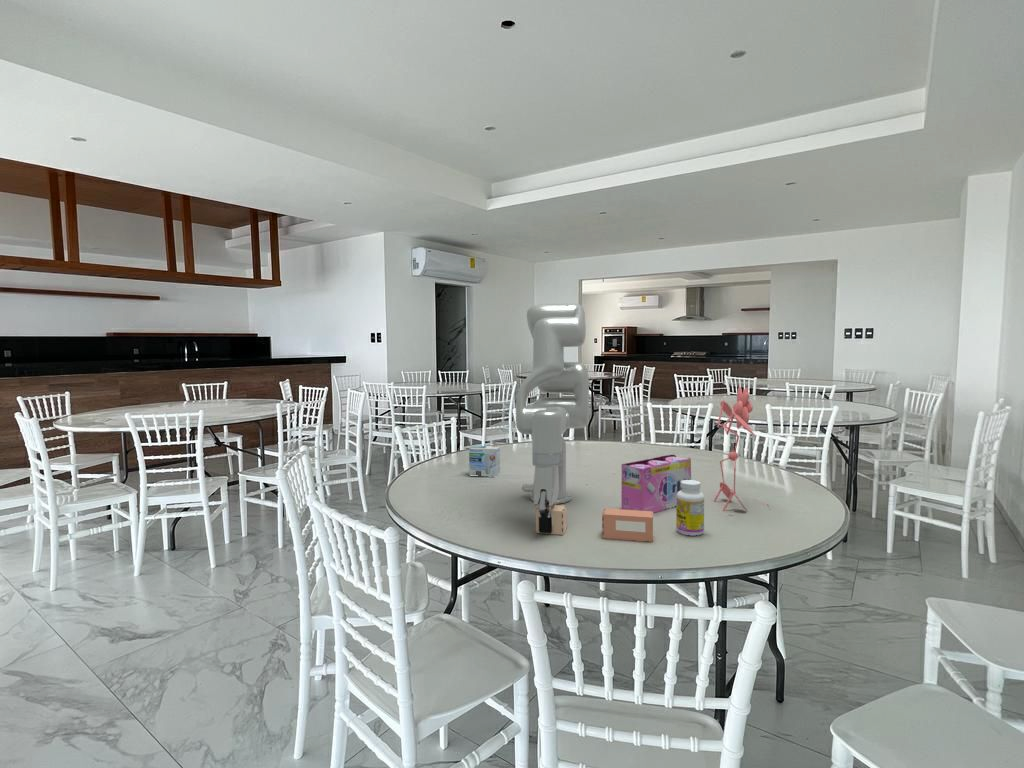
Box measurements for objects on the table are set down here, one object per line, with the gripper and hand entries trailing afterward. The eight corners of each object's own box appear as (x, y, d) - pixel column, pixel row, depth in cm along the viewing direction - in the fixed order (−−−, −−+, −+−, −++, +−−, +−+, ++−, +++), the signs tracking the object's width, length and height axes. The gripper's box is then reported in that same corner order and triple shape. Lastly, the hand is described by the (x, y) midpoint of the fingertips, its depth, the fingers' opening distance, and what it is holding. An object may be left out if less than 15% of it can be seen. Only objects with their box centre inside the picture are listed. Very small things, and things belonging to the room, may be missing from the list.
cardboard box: (602, 538, 132) (602, 513, 132) (604, 531, 137) (604, 507, 137) (652, 542, 129) (652, 517, 129) (652, 535, 134) (653, 511, 134)
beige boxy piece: (536, 532, 137) (535, 509, 136) (540, 526, 142) (540, 503, 141) (563, 535, 135) (563, 511, 134) (566, 528, 140) (566, 505, 139)
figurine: (729, 519, 146) (734, 389, 143) (703, 494, 171) (707, 384, 169) (788, 521, 144) (794, 390, 142) (753, 495, 170) (757, 384, 168)
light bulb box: (468, 477, 198) (468, 448, 198) (473, 473, 205) (472, 444, 204) (497, 478, 196) (497, 448, 196) (500, 473, 203) (500, 445, 202)
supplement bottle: (672, 528, 139) (672, 479, 138) (697, 527, 140) (697, 478, 139) (682, 537, 132) (682, 485, 132) (708, 536, 133) (709, 484, 132)
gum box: (673, 496, 169) (673, 453, 168) (695, 502, 163) (695, 457, 162) (620, 510, 155) (620, 463, 155) (641, 517, 149) (642, 468, 148)
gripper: (539, 452, 146) (540, 517, 148) (524, 465, 130) (525, 539, 131) (567, 453, 145) (567, 519, 146) (555, 466, 128) (556, 541, 129)
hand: (547, 528), depth 138 cm, fingers closed on beige boxy piece, 5 cm apart
